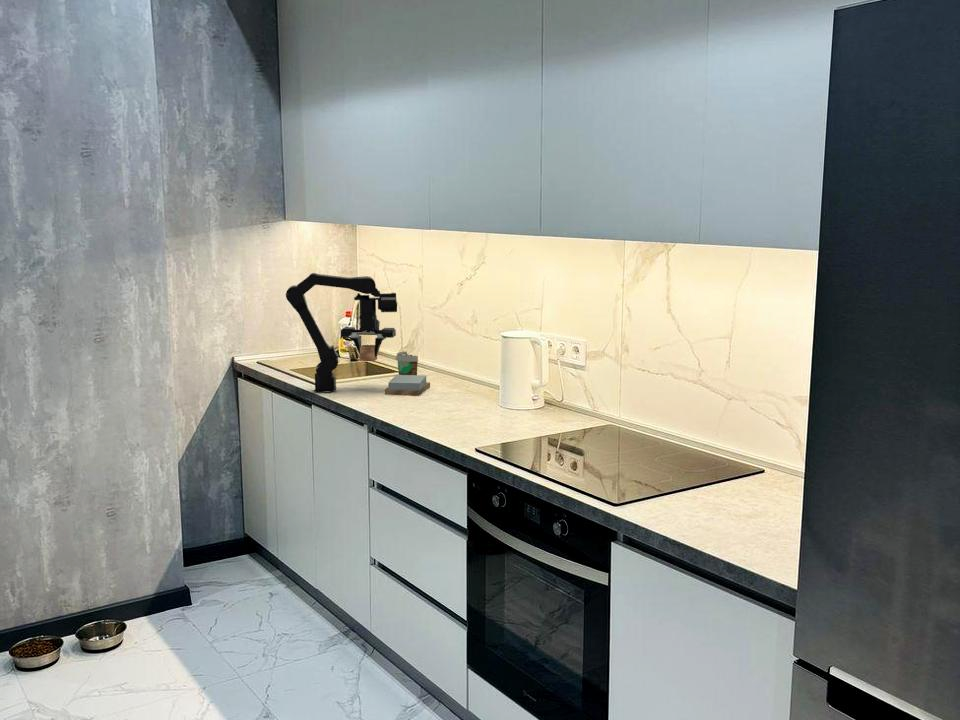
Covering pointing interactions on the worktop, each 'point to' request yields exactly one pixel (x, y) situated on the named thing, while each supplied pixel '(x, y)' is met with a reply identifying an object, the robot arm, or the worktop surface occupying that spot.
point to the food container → (406, 363)
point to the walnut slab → (407, 391)
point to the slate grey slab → (407, 382)
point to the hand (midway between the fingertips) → (368, 356)
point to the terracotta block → (367, 353)
